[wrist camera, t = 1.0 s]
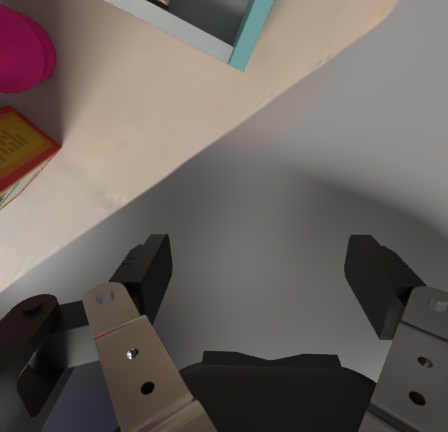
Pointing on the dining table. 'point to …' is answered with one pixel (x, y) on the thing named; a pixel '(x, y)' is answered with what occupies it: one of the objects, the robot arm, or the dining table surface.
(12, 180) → the baking soda box
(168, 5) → the crate
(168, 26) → the bay
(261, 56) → the dining table surface
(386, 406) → the robot arm
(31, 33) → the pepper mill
